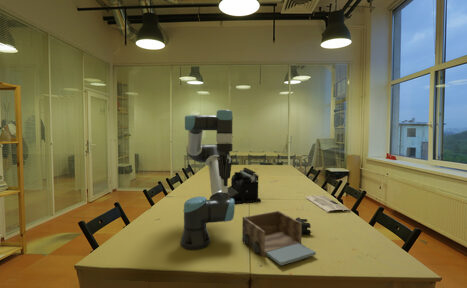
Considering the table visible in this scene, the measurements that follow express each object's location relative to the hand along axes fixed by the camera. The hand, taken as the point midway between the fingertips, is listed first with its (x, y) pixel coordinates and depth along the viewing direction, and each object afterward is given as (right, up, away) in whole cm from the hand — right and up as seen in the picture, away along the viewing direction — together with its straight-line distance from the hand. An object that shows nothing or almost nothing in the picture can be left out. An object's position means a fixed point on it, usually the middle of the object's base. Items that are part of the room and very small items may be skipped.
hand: (224, 192), depth 109 cm
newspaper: (+78, -26, +74) cm, 111 cm away
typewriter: (+10, -25, +92) cm, 95 cm away
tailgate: (+29, -28, +2) cm, 40 cm away
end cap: (+44, -29, +24) cm, 58 cm away
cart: (+24, -29, +11) cm, 39 cm away
